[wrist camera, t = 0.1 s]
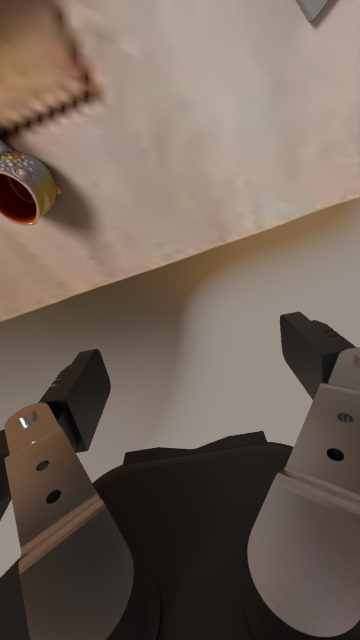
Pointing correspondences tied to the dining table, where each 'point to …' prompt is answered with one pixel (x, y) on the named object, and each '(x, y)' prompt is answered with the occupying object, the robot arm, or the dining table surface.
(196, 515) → the robot arm
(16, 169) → the mug
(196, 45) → the dining table surface
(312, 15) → the hole plate
